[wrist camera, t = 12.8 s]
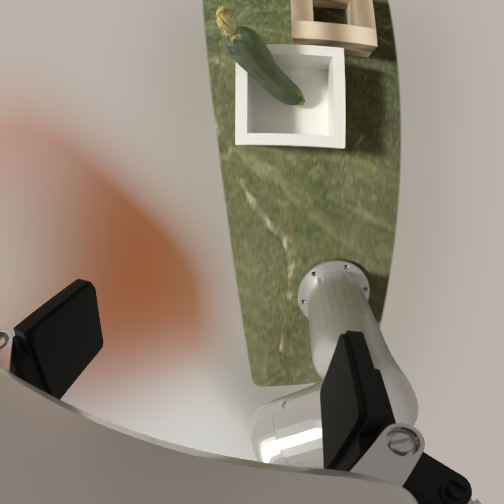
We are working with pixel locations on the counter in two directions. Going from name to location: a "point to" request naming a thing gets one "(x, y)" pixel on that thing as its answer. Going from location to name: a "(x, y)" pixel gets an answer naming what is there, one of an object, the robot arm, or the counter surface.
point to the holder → (336, 26)
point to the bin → (294, 116)
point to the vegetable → (257, 59)
